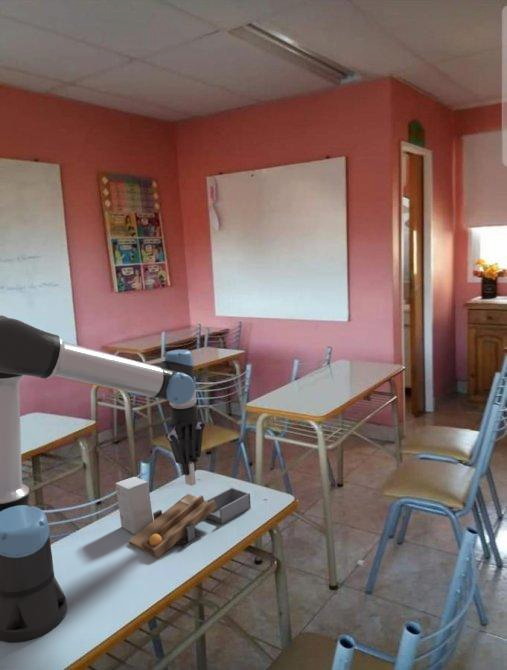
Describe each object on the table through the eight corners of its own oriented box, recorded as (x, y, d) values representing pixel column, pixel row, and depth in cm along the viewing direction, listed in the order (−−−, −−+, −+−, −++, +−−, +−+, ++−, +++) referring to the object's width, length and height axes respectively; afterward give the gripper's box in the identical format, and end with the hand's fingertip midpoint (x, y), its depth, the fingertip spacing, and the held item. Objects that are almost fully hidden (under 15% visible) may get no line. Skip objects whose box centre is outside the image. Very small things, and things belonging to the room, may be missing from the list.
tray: (222, 524, 155) (221, 509, 154) (204, 516, 160) (203, 502, 159) (250, 507, 164) (249, 493, 163) (232, 501, 169) (231, 487, 168)
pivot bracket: (184, 547, 144) (183, 531, 143) (148, 530, 154) (147, 515, 153) (201, 537, 148) (200, 522, 148) (165, 521, 158) (164, 507, 158)
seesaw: (157, 558, 139) (154, 550, 139) (129, 543, 147) (126, 536, 147) (216, 507, 154) (214, 500, 154) (188, 496, 162) (186, 489, 162)
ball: (157, 551, 141) (152, 542, 140) (149, 547, 143) (144, 538, 142) (166, 542, 143) (161, 533, 142) (158, 538, 145) (153, 529, 144)
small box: (154, 526, 155) (148, 481, 154) (134, 534, 151) (127, 488, 150) (140, 518, 161) (134, 475, 160) (120, 526, 157) (114, 482, 156)
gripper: (174, 413, 148) (182, 495, 152) (209, 400, 157) (216, 478, 161) (156, 409, 153) (164, 489, 157) (191, 397, 162) (198, 472, 166)
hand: (190, 483), depth 159 cm, fingers closed
